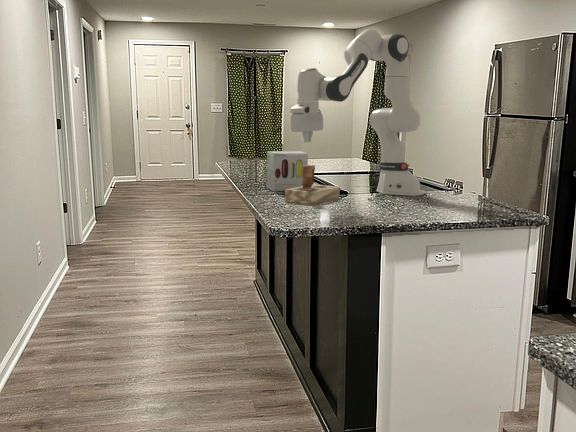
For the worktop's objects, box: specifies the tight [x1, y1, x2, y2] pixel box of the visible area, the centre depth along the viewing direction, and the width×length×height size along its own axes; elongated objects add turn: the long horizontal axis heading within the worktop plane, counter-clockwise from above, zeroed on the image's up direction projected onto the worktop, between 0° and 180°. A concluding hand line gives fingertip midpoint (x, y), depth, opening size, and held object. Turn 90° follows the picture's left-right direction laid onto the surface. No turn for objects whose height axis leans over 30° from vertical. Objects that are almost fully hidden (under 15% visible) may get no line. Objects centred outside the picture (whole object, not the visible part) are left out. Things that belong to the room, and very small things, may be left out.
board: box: [284, 183, 341, 205], centre depth 253 cm, size 14×22×5 cm, turn 146°
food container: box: [310, 164, 316, 184], centre depth 304 cm, size 12×6×10 cm, turn 25°
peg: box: [302, 164, 312, 190], centre depth 248 cm, size 4×4×14 cm
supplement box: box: [266, 150, 309, 192], centre depth 283 cm, size 17×13×18 cm
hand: (307, 142), depth 245 cm, fingers closed
